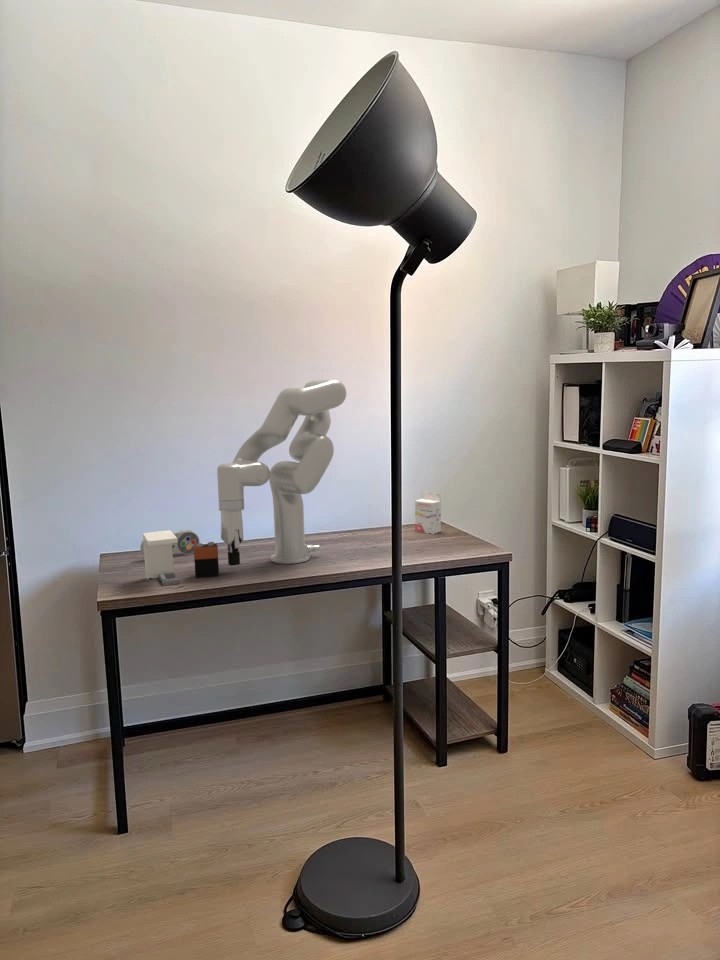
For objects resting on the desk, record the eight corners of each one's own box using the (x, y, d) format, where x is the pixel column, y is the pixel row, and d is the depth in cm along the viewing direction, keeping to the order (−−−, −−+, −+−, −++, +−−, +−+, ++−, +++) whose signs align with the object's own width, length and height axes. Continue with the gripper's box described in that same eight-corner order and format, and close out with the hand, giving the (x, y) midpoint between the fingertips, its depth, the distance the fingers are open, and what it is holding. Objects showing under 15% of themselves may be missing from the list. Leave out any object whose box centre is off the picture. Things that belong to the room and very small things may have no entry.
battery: (218, 576, 218) (217, 543, 216) (195, 578, 217) (193, 545, 215) (219, 572, 222) (217, 540, 221) (196, 574, 221) (194, 542, 219)
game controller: (143, 562, 237) (141, 537, 236) (141, 560, 239) (139, 535, 238) (200, 553, 248) (199, 528, 246) (198, 551, 250) (196, 527, 248)
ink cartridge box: (414, 531, 270) (413, 492, 268) (421, 529, 274) (421, 490, 272) (434, 534, 265) (433, 494, 263) (441, 531, 269) (441, 492, 267)
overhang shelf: (173, 574, 221) (170, 530, 219) (180, 584, 210) (177, 538, 208) (146, 578, 218) (142, 533, 216) (151, 588, 207) (148, 541, 205)
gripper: (213, 502, 225) (216, 560, 228) (224, 509, 211) (227, 571, 214) (237, 500, 228) (240, 557, 230) (250, 507, 214) (252, 568, 217)
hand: (234, 564), depth 222 cm, fingers closed
